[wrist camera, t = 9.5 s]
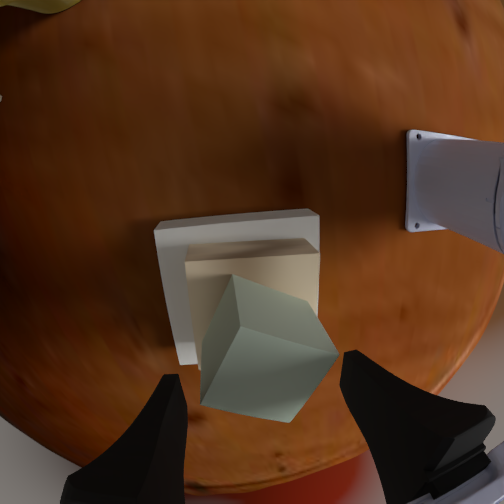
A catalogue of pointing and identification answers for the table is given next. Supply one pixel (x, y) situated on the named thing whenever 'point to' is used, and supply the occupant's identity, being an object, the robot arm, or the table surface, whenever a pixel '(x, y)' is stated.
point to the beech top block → (247, 274)
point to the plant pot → (41, 5)
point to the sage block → (263, 353)
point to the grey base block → (216, 231)
